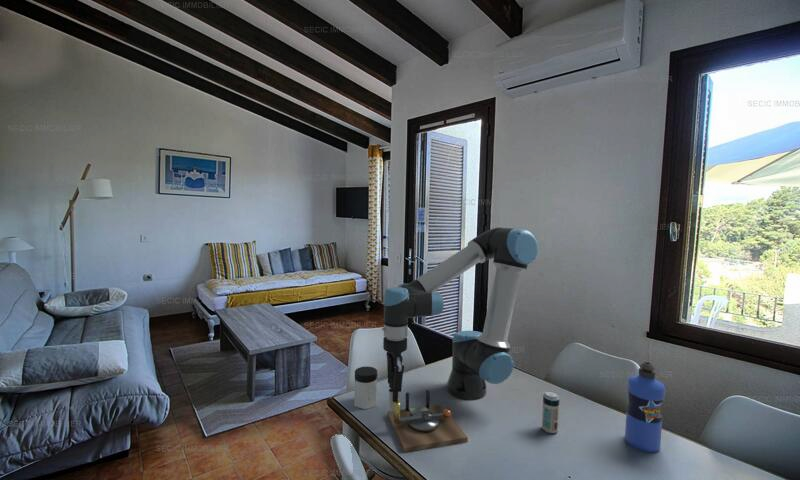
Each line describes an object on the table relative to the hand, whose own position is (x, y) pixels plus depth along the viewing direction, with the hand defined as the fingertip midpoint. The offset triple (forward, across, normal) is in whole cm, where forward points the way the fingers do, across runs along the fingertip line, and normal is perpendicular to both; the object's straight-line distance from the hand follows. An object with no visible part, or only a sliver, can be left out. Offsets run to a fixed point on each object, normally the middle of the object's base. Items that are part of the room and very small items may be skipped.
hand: (393, 409), depth 118 cm
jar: (+6, -17, -6) cm, 19 cm away
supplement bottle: (+6, +14, +48) cm, 51 cm away
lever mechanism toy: (+6, +3, +10) cm, 12 cm away
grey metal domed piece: (+4, +3, +9) cm, 10 cm away
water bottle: (+6, +26, +72) cm, 76 cm away
